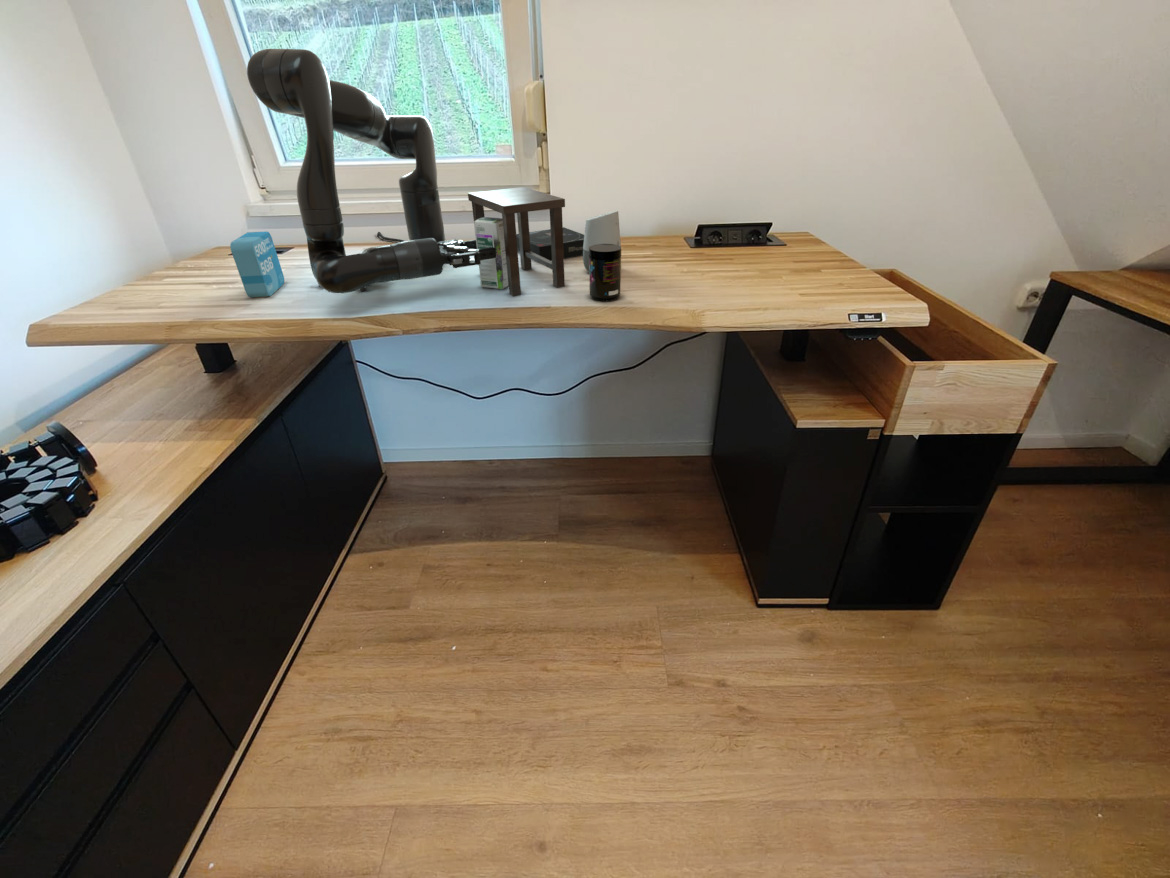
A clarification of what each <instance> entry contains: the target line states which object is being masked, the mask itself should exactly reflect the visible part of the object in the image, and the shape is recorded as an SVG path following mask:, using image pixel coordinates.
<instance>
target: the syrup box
mask: <svg viewBox="0 0 1170 878" xmlns="http://www.w3.org/2000/svg"><path fill="white" fill-rule="evenodd" d="M473 227H474V234H475V235H474V236H475V240H476V244H477V249H483V248H489V247H494V248H495V249H496V258H492V259H486V260H480V262H481V264H479V265H478V269H479V277H480V278H479V280H480V287H481V288H488V289H497V290H504V289H505V288H507V287H509V286H508V275H507V264H506V253H505V242H504V231H503V220H502V217H489V216H485V217H483V218H479V219H477V220H476V221H474V220H473Z"/></svg>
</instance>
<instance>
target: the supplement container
mask: <svg viewBox="0 0 1170 878" xmlns="http://www.w3.org/2000/svg"><path fill="white" fill-rule="evenodd" d="M588 275H589V276H588V279H589V280H588V281H589V282H588V283H589V297H590V298H591V299H592V300H594V301H598V302H613V301H616V300H618V299H619V298H620V297H621V283H622V281H621V279H622V245H621V246H619V245H615V244H596V245H592V246H590V247H589V272H588Z"/></svg>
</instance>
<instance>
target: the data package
mask: <svg viewBox="0 0 1170 878" xmlns="http://www.w3.org/2000/svg"><path fill="white" fill-rule="evenodd" d="M229 246H230V247H229V248H230V252H231V254H232V257H233V261H234V263H235V267H236V269H237V272H238V274H239V277H240V280H241V282H242V287H243V288H244V289H243V290H244V292H245V294H246V296H247V297H248V298H264V297H265V298H266V297H272V296H273V295H274V294H275V292H277V291H278V290H279V289H280V288H281V287H282V286H284V284H285V276H284V273H283V268H282V266H281V262H280V259H279V256H278V253H277V251H276V250H277V249H276V246H275V243H274V241H273V237H272V235H271V233H270V232H269V231H249V232H246V233H244V234H242V235H240V236H238V237H237V238H236V239H234V240H232V241H231V242H230V245H229Z"/></svg>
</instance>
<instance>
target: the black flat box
mask: <svg viewBox="0 0 1170 878" xmlns="http://www.w3.org/2000/svg"><path fill="white" fill-rule="evenodd" d="M584 234H585V233H584ZM584 234H583V233H580V232H578V231H575V230H573V229H570V228H567V227H564V226H563V250H564V260H565V259H570V258H571V259H572V258H576V257H583V244H584ZM529 235H530V250H531V252H533V253H535V254H537V255H540V256H542V257H544V258H546V259H548V260H550V261H552V251H551V230H550V229H543V230H537V231H536V230H535V231H529ZM516 237H517V249H518V254H520V245H519V233H516Z"/></svg>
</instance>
